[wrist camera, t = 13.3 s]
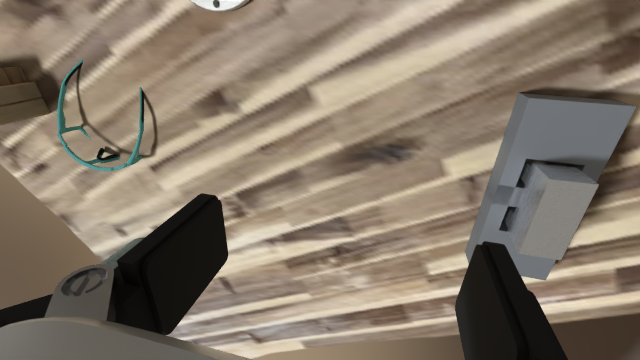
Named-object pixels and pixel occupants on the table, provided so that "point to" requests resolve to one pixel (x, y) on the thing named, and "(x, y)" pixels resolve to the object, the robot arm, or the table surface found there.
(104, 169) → the sunglasses
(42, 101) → the block tower
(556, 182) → the grey concrete brick
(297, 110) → the table surface
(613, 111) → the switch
